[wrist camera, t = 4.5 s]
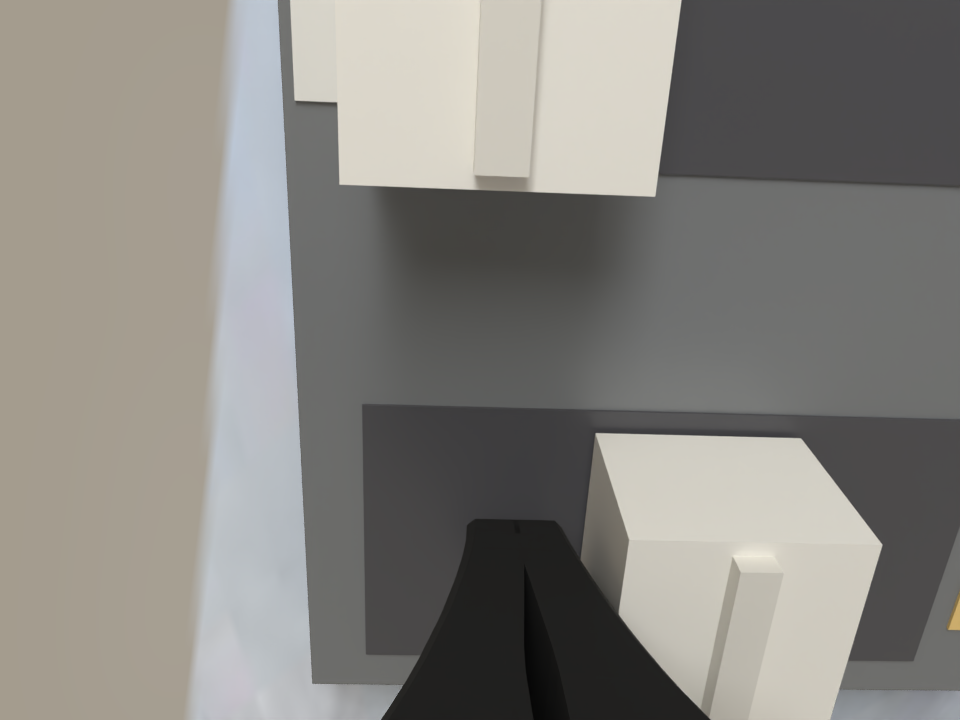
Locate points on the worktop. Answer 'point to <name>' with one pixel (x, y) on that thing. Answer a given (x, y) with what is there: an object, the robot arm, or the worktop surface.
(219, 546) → the worktop surface
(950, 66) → the switch plate
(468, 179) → the middle tab
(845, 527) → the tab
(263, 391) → the worktop surface
